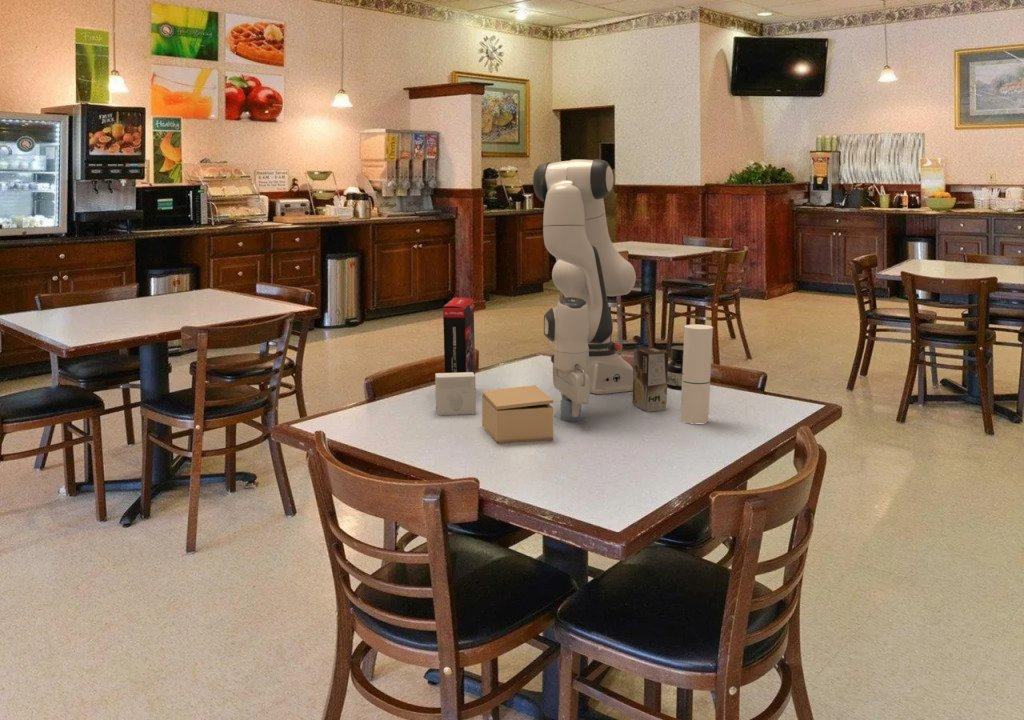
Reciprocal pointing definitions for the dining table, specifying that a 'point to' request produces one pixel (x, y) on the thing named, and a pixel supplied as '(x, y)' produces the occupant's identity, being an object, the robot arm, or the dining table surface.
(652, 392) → the coffee box
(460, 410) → the skincare box
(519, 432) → the carton
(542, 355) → the dining table surface
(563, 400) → the tape roll
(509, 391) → the lid flap
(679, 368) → the ink bottle
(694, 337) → the cylindrical container
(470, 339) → the graphics card box
